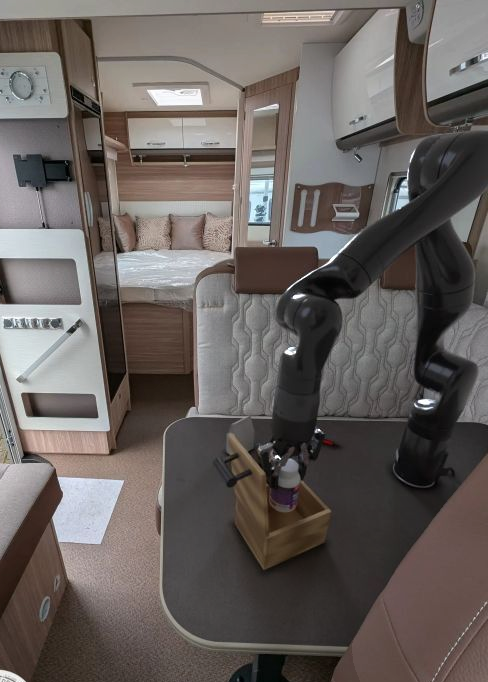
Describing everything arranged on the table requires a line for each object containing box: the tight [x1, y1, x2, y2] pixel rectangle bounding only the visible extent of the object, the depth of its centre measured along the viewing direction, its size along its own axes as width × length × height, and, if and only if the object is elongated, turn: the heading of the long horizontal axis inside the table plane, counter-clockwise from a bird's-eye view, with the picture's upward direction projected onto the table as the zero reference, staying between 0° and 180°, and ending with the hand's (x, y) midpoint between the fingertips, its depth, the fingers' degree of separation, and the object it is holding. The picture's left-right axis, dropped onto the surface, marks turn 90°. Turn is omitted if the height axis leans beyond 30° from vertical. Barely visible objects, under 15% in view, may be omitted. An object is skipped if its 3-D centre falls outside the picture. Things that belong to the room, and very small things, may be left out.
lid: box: [211, 433, 269, 537], centre depth 64 cm, size 15×12×6 cm
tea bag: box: [225, 414, 255, 455], centre depth 97 cm, size 4×7×10 cm, turn 130°
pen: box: [323, 438, 339, 447], centre depth 105 cm, size 1×19×1 cm, turn 58°
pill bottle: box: [269, 458, 300, 512], centre depth 70 cm, size 5×5×10 cm
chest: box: [234, 480, 332, 571], centre depth 74 cm, size 15×12×9 cm
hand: (285, 481), depth 69 cm, fingers closed on pill bottle, 5 cm apart
